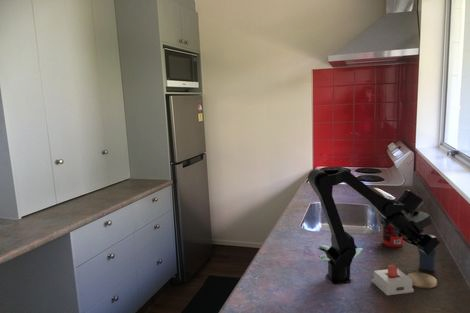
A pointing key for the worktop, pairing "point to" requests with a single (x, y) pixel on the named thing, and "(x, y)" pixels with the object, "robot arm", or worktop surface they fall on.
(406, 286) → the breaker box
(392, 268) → the button
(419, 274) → the coaster
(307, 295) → the worktop surface
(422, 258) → the vaping device
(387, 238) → the canned food
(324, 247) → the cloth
